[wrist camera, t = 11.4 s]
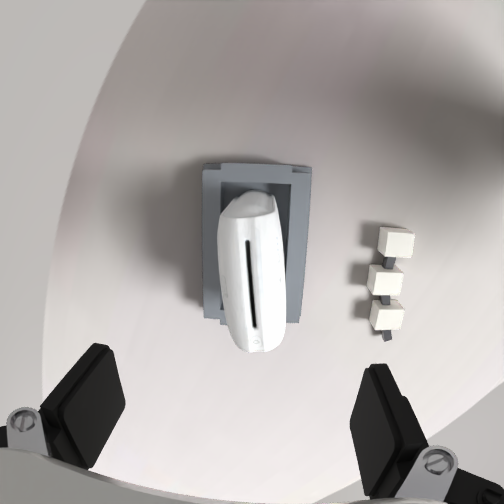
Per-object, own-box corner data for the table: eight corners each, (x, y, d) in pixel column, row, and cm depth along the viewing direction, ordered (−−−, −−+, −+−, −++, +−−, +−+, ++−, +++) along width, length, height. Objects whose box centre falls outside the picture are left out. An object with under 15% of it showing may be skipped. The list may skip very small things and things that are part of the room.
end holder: (310, 166, 29) (315, 167, 26) (299, 313, 33) (302, 328, 30) (205, 162, 29) (198, 162, 26) (205, 308, 34) (200, 323, 31)
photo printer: (283, 291, 32) (290, 364, 20) (240, 293, 32) (225, 367, 20) (277, 187, 29) (283, 206, 17) (231, 190, 29) (205, 211, 17)
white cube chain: (409, 228, 30) (418, 234, 28) (389, 335, 34) (395, 346, 31) (374, 226, 30) (382, 231, 28) (357, 336, 34) (362, 347, 31)
